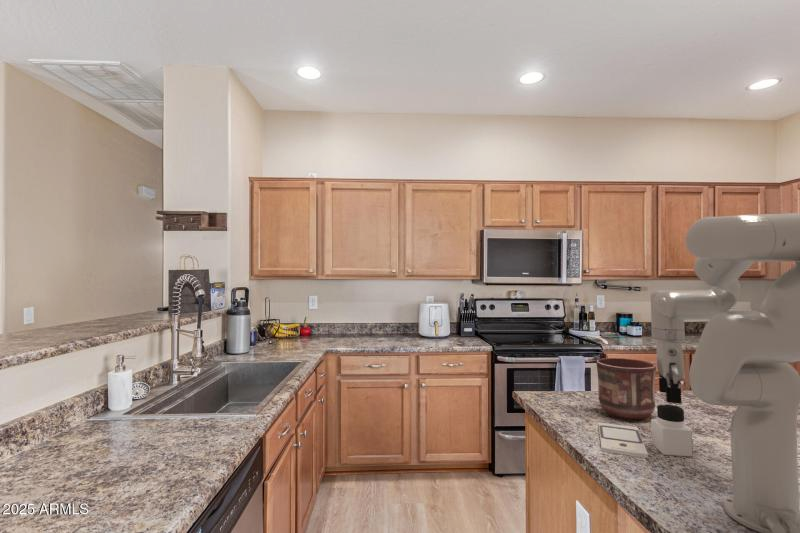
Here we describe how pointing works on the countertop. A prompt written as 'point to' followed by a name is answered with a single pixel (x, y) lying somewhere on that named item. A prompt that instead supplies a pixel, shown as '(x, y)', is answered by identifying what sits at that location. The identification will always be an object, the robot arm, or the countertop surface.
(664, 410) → the medicine bottle
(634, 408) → the pottery
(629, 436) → the board
